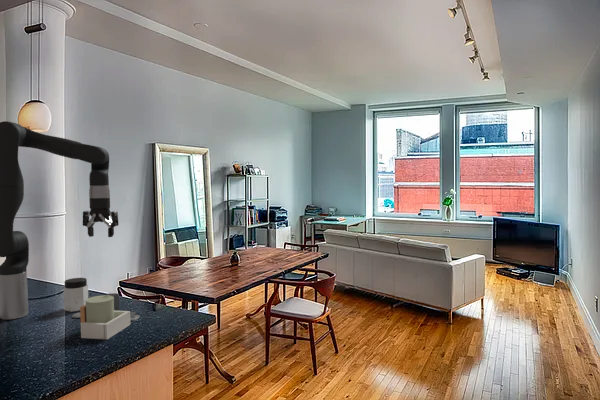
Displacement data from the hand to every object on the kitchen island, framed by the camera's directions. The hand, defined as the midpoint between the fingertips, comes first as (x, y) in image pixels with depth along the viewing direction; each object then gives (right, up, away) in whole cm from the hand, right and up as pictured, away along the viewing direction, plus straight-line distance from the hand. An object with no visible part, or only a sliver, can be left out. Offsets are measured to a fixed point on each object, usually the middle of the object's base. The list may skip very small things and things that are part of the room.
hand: (100, 236), depth 173 cm
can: (+10, -32, -22) cm, 40 cm away
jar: (-12, -30, +3) cm, 33 cm away
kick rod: (+11, -30, -16) cm, 36 cm away
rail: (+6, -31, -8) cm, 32 cm away
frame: (+12, -31, -22) cm, 40 cm away
